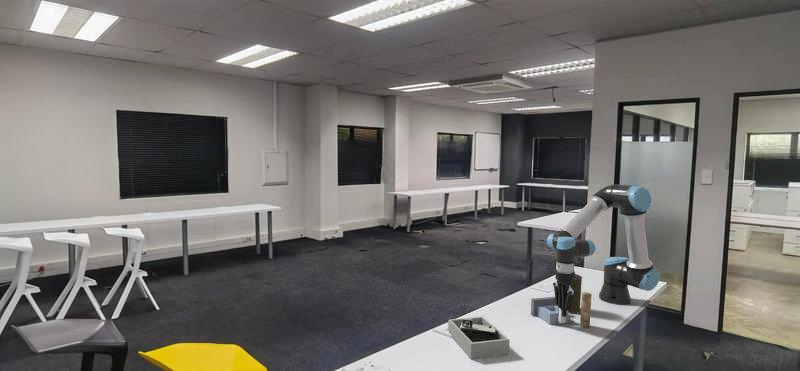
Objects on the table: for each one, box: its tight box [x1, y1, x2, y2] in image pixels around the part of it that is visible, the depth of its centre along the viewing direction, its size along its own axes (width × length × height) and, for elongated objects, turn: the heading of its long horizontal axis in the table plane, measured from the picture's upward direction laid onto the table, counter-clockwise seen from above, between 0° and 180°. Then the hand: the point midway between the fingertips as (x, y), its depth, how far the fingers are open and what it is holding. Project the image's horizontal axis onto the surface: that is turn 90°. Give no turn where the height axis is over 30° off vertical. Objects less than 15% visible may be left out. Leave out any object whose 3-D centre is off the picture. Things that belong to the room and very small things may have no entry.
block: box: [536, 304, 570, 325], centre depth 194 cm, size 10×10×5 cm
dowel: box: [579, 291, 592, 329], centre depth 187 cm, size 4×4×15 cm
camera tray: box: [447, 316, 510, 360], centre depth 168 cm, size 16×23×6 cm
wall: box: [530, 296, 558, 317], centre depth 200 cm, size 14×2×8 cm, turn 105°
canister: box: [567, 271, 583, 315], centre depth 207 cm, size 11×10×20 cm
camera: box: [460, 317, 497, 342], centre depth 168 cm, size 15×8×10 cm, turn 71°
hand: (561, 322), depth 187 cm, fingers closed
